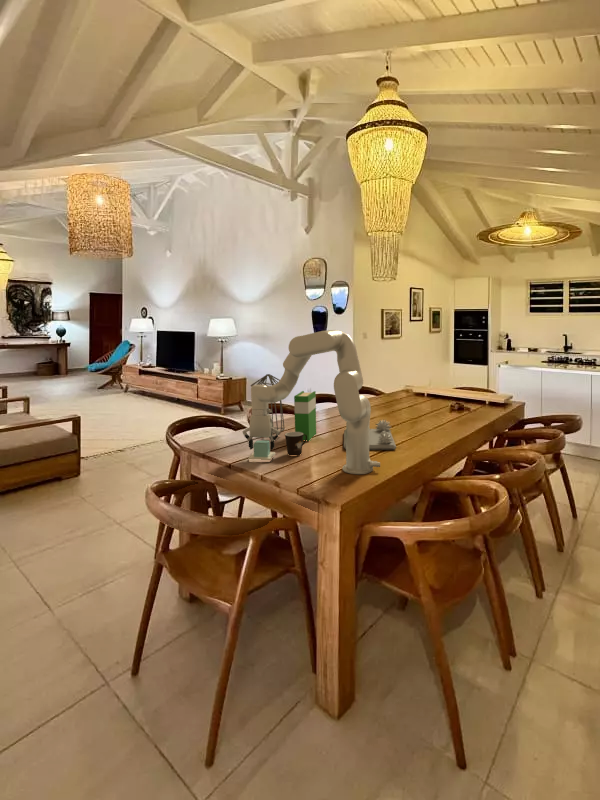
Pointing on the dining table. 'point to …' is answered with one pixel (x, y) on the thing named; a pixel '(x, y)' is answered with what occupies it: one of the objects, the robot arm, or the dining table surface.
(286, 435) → the coffee mug
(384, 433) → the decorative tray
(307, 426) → the hardback book
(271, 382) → the geometric lantern
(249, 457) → the coaster
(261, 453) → the block
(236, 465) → the dining table surface
